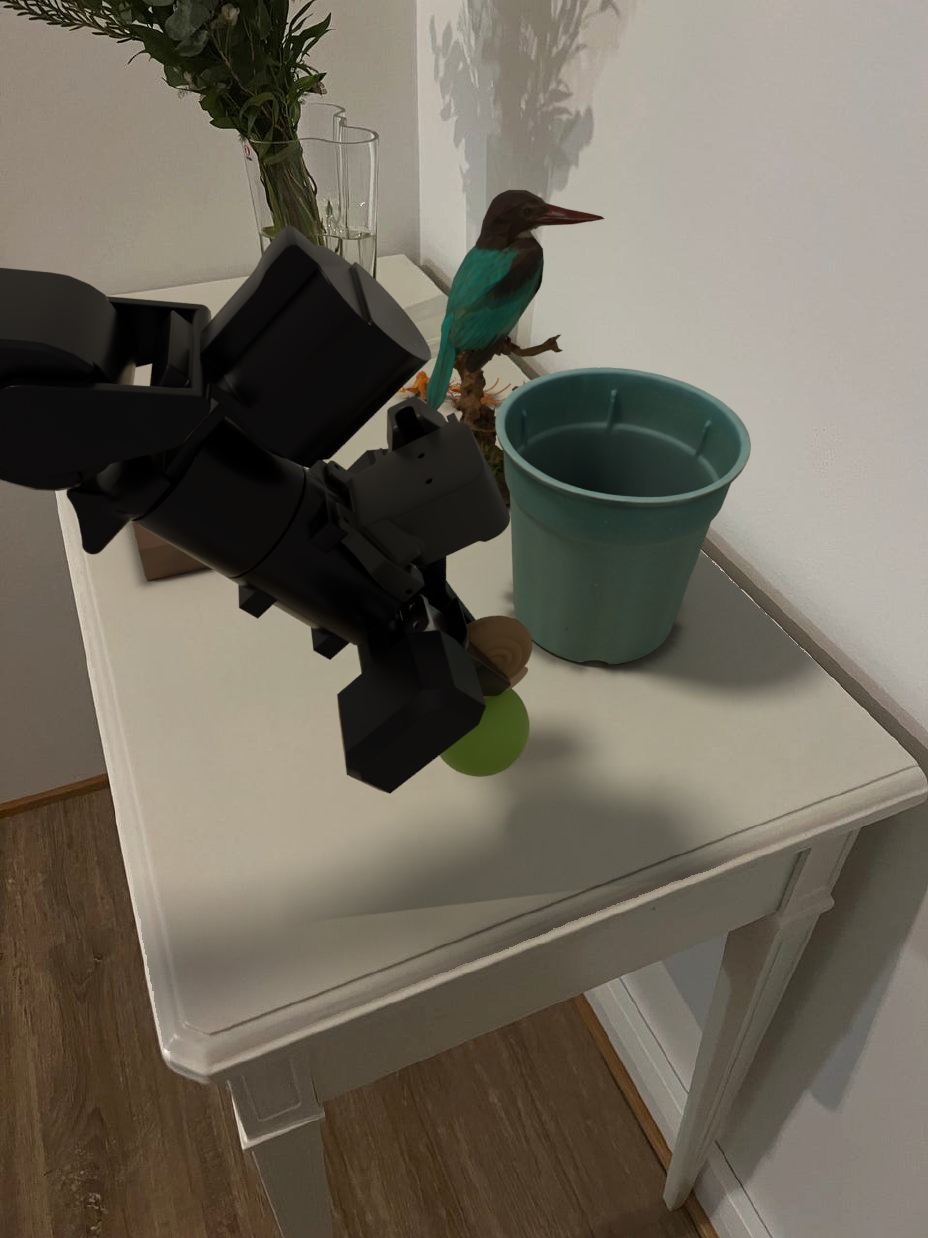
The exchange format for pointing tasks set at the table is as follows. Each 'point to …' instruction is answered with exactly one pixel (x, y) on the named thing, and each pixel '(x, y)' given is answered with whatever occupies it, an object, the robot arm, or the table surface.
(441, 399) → the sculpture
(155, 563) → the riser
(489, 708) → the snail figurine
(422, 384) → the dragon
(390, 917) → the table surface
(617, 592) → the flower pot
